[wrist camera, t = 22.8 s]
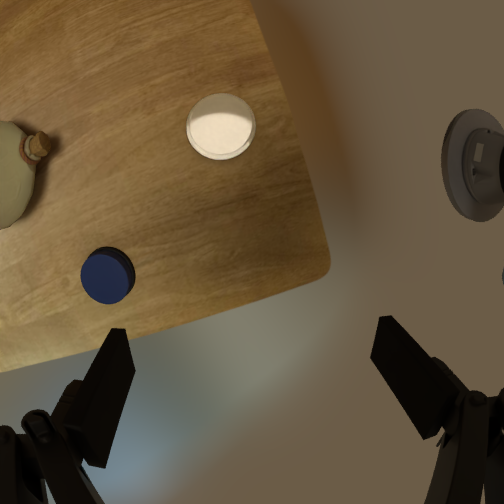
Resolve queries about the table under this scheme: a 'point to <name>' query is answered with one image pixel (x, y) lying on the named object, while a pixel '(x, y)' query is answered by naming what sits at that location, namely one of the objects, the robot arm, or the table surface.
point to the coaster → (125, 260)
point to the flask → (18, 169)
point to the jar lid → (106, 277)
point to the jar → (220, 126)
